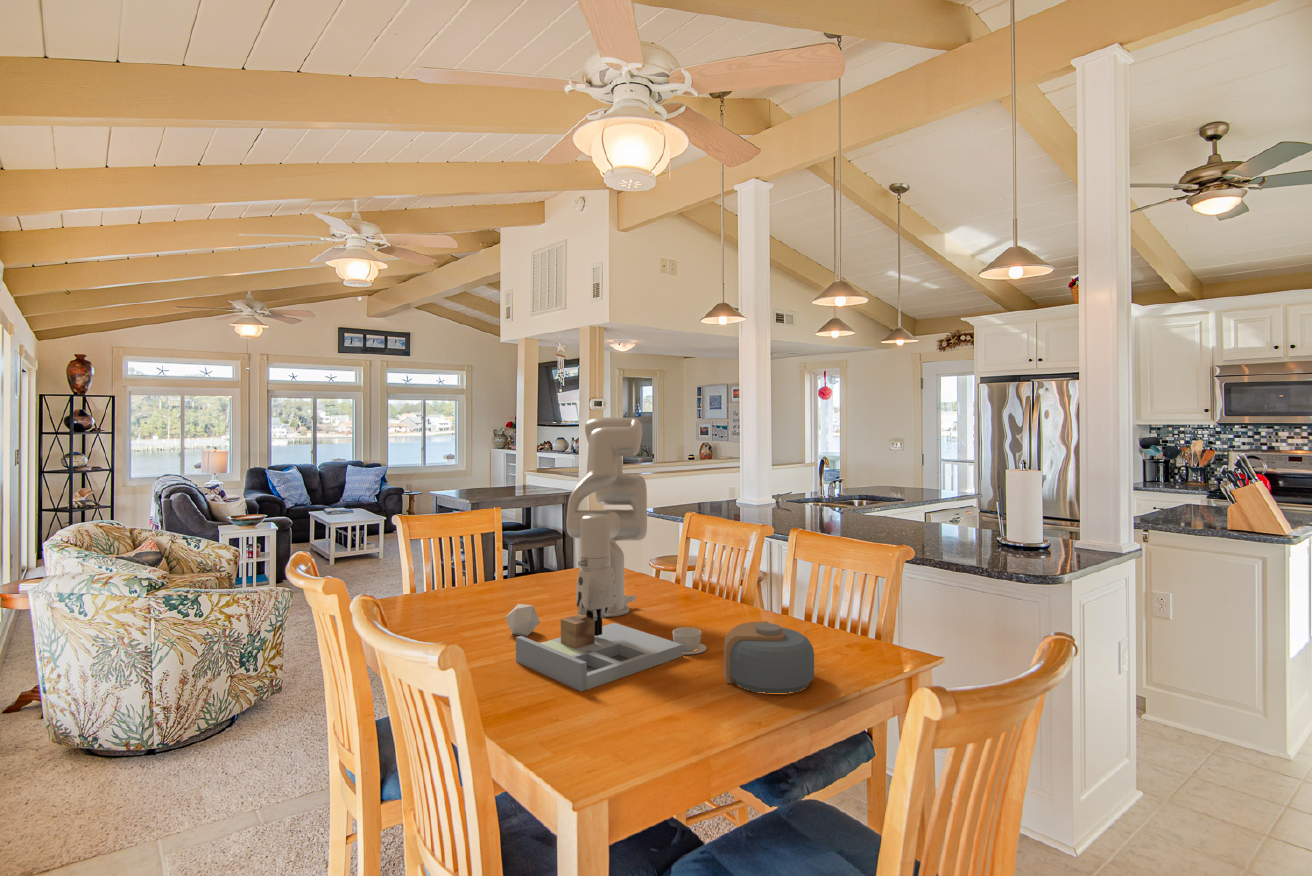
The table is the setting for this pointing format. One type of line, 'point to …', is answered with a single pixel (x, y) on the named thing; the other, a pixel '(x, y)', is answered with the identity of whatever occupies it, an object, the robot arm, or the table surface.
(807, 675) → the grey knobbed dome
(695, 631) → the teacup
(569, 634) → the walnut block
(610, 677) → the board
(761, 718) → the table surface
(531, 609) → the die
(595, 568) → the robot arm
